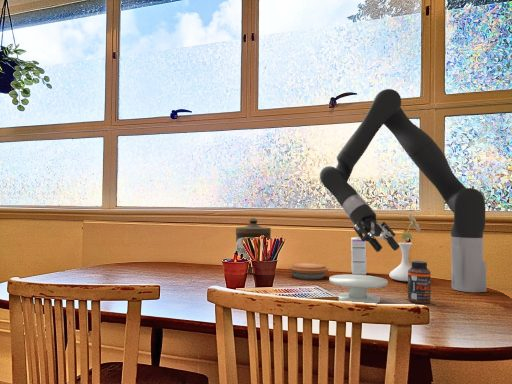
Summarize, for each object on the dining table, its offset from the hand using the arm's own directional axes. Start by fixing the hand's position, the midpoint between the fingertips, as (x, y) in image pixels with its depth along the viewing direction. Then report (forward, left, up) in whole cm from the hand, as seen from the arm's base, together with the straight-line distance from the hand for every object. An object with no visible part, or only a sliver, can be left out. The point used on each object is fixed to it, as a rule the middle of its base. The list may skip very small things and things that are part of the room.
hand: (388, 249), depth 118 cm
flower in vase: (-11, -28, -14) cm, 33 cm away
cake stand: (+10, +9, -14) cm, 19 cm away
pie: (+25, -28, -14) cm, 40 cm away
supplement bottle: (-7, +7, -14) cm, 17 cm away
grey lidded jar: (+48, -36, -14) cm, 62 cm away
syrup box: (+5, -41, -14) cm, 44 cm away
